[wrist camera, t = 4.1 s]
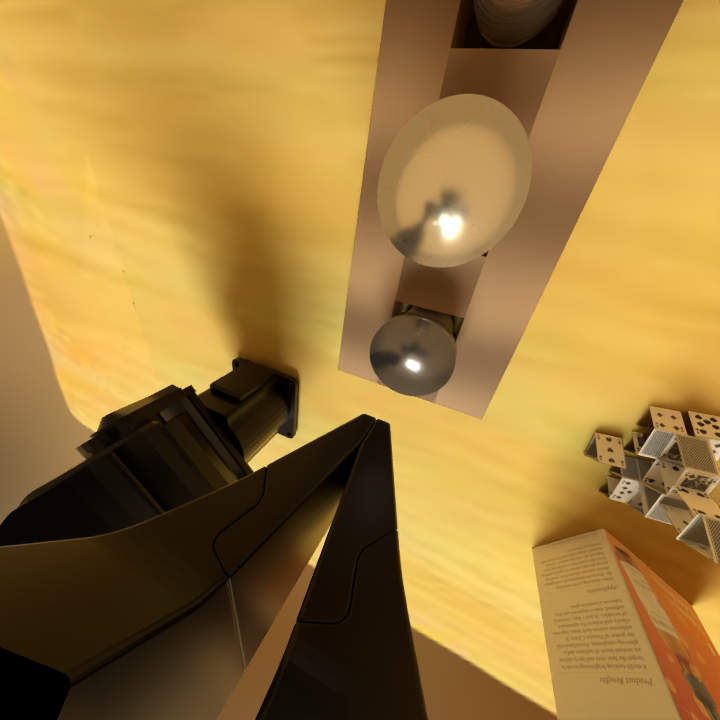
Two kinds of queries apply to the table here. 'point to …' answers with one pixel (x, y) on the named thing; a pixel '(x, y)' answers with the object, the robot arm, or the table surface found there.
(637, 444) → the house of cards
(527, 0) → the red plug
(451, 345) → the grey plug
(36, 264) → the table surface
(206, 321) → the table surface
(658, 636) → the small box
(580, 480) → the table surface
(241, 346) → the table surface
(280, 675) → the robot arm
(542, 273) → the socket board
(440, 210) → the cream plug
